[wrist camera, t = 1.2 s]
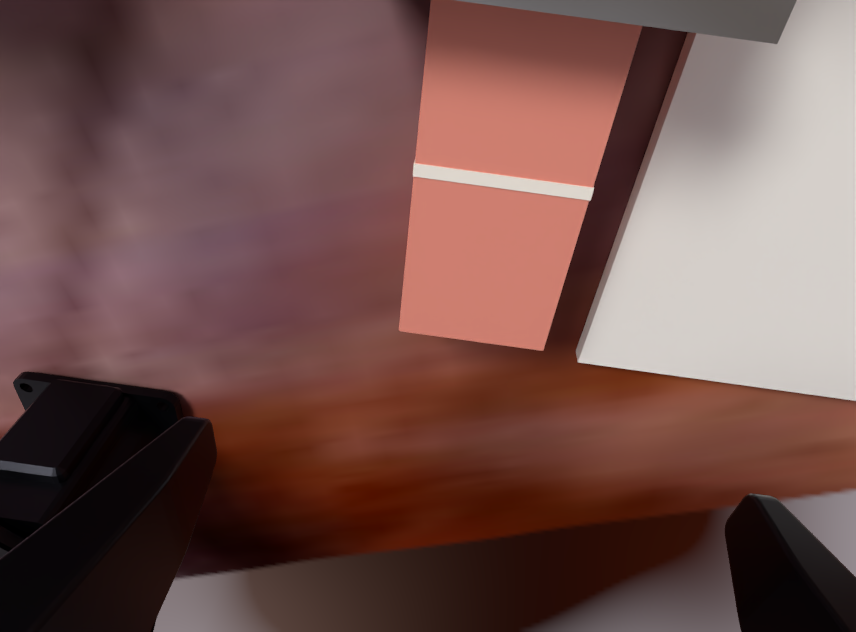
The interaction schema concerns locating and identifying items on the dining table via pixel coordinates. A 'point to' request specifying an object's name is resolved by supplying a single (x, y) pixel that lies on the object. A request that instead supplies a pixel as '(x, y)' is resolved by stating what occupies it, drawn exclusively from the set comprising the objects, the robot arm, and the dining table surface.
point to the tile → (744, 218)
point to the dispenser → (675, 14)
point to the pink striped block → (506, 165)
